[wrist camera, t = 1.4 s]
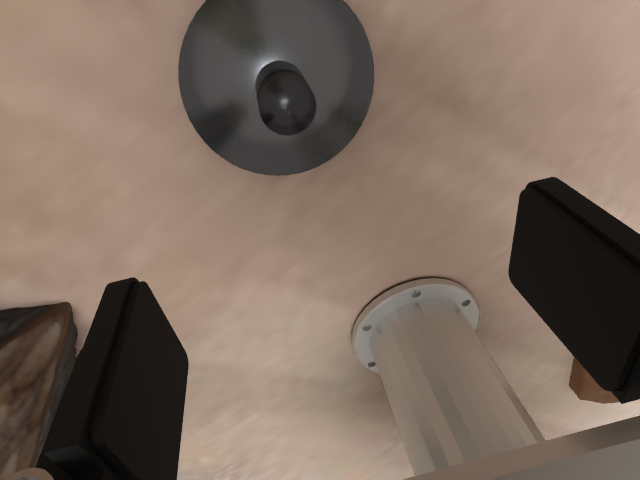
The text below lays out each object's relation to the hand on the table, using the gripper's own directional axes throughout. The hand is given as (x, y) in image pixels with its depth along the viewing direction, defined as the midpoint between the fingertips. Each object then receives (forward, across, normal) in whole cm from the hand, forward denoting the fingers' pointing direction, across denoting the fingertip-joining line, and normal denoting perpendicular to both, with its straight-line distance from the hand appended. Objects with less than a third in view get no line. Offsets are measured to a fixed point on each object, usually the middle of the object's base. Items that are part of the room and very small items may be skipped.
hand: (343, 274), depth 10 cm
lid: (+19, 0, 0) cm, 19 cm away
